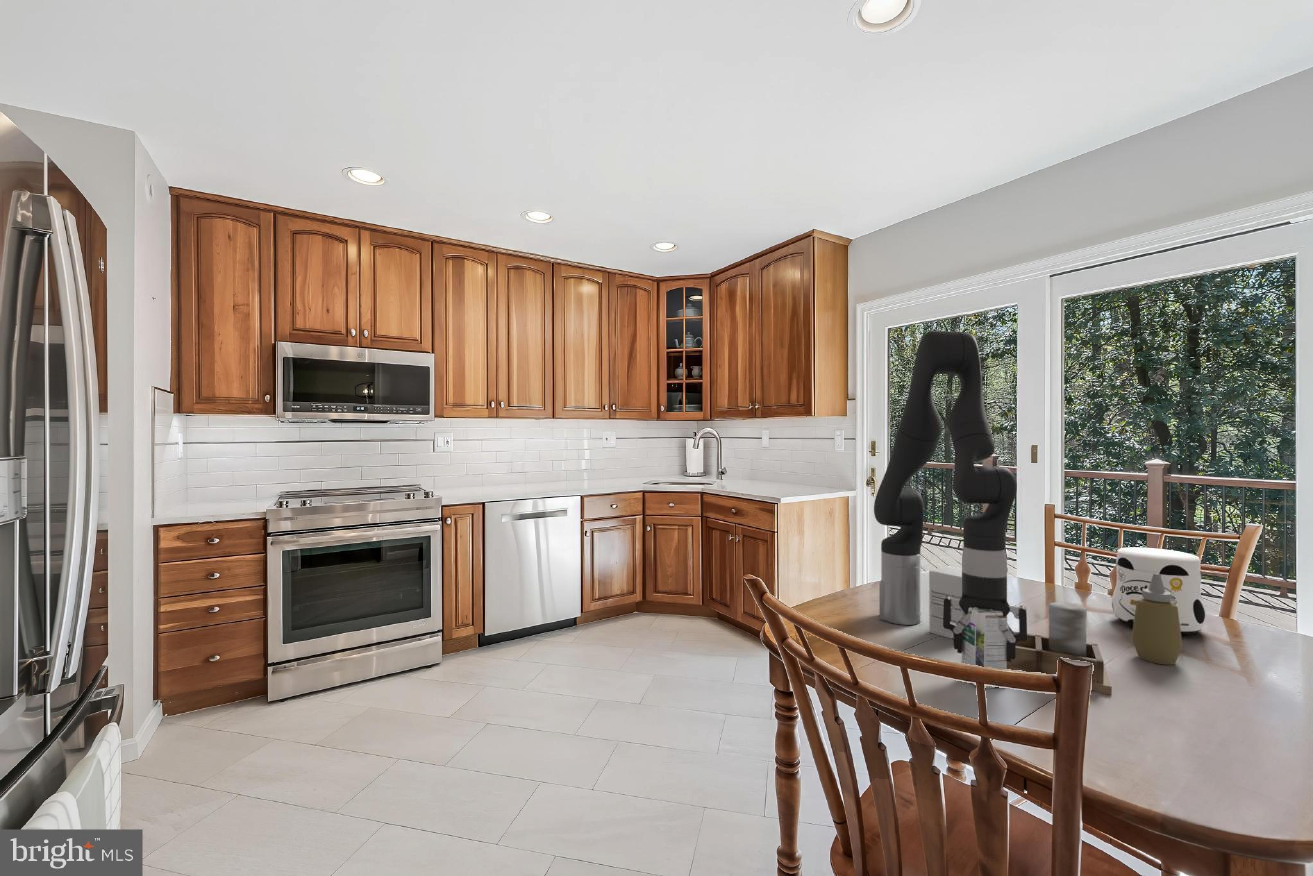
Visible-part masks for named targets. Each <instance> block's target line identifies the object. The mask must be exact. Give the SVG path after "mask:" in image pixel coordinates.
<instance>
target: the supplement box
mask: <svg viewBox="0 0 1313 876" xmlns="http://www.w3.org/2000/svg"><path fill="white" fill-rule="evenodd" d="M928 572H929V573H928V575H929V576H928V577H929V579H928V580H929V582H928V583H929V585H928V587H929V591H928V594H929V602H928V603H929V604H928V605H929V606H928V607H929V609H928V610H929V614H928V615H929V619H928V621H929V623H928V624H929V627H928V628H929V633H931V634H935V635H938V636H942V637H945V638H948V639H952V638H953V632H952V631H951V630H949V629H945V628H944V627H943V609H944V599H945V597H946V596H950V597H951V598H955V599H960V598H961V597H962V567H958V566H954V565H946V566H942V567H937V568H935V569H931V570H929V571H928ZM961 618H962V608H961V607H960V606H959V605H956V607H955V609H954V610H951V622H953V623H955V624H956V623H957V622H958V621H959V620H960V619H961ZM961 632H962V631H961Z"/></svg>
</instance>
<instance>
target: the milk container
mask: <svg viewBox="0 0 1313 876" xmlns="http://www.w3.org/2000/svg"><path fill="white" fill-rule="evenodd" d="M1115 562H1116V583H1115V584H1116V585H1115V588H1114V590H1113V593H1112V597H1111V606H1112V612H1113V614H1114V617H1116V618H1117V619H1118V620H1119V621H1121V622H1123V623H1125V624H1126V625H1129V626H1132V627H1133V624H1134V617H1135V610H1136V602H1137V601H1138V600H1140V599H1142V598H1143V597H1142V590H1143V589H1149V586H1150V583H1151V580H1152V576H1153V574H1154V573H1156V574H1161V578H1162V581H1163V585H1164V589H1165V591H1167V592H1170V593H1171V594H1172V601H1171V603H1173V604H1175V605H1176V606H1177V607H1178V614H1179V622H1180V630H1181V635H1186V634H1187V635H1188V634H1189V635H1190V634H1191V635H1192V634H1194V633H1198V632H1200V631H1202V630H1203V629H1204V627H1205V624H1206V619H1207V612H1206V611H1207V610H1206V606H1205V604H1204V602H1203V597H1202V595H1201V594H1202V591H1201V590H1202V589H1201V585H1202V573H1201V569H1202V567H1201V560H1200V557H1199V556H1197V555H1196V554H1193V553H1187V552H1183V551H1178V550H1170V549H1163V548H1152V547H1139V546H1137V547H1136V546H1135V547H1134V546H1133V547H1121V548H1118V549H1117V553H1116V559H1115Z"/></svg>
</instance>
